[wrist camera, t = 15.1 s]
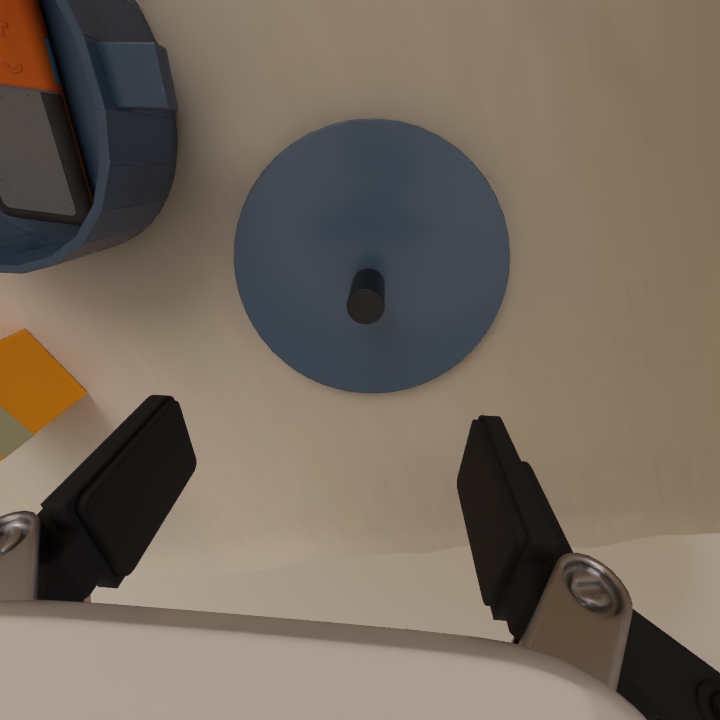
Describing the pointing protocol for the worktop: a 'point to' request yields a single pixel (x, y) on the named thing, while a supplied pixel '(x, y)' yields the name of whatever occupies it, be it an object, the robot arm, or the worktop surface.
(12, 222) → the pot
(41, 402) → the orange juice
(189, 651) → the robot arm
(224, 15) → the worktop surface
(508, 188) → the worktop surface
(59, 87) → the phone
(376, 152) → the lid
